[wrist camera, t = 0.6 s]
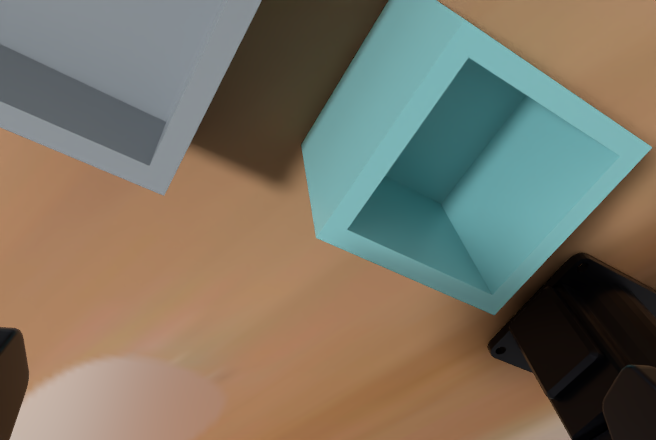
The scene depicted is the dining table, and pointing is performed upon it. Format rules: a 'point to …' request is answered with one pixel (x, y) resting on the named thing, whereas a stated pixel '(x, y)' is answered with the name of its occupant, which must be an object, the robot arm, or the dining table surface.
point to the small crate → (456, 157)
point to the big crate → (116, 77)
